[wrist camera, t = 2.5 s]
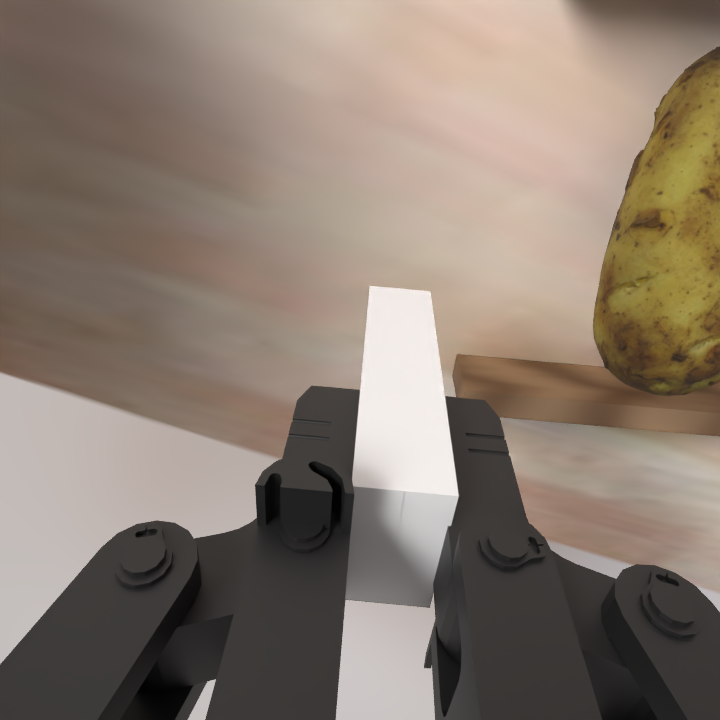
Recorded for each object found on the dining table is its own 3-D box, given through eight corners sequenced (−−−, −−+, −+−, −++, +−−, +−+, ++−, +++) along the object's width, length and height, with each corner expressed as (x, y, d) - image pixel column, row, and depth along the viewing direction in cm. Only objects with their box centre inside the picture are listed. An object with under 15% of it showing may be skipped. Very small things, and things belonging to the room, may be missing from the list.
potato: (842, 111, 22) (1042, 150, 15) (638, 345, 29) (714, 444, 22) (684, 19, 20) (830, 19, 14) (508, 289, 27) (548, 377, 20)
